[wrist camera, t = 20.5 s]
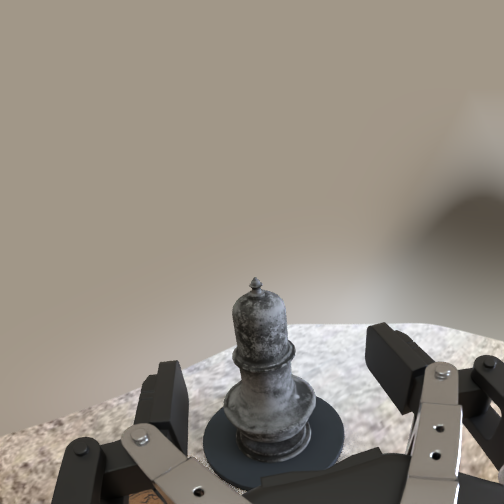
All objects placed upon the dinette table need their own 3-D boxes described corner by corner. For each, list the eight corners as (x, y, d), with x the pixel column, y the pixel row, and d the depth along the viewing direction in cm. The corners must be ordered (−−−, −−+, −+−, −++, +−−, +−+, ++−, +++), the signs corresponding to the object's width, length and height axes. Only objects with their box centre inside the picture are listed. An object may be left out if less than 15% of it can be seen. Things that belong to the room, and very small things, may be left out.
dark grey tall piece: (215, 434, 20) (177, 282, 17) (274, 396, 24) (259, 252, 20) (271, 480, 16) (248, 316, 12) (332, 429, 19) (336, 270, 16)
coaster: (176, 449, 20) (174, 445, 19) (259, 380, 27) (258, 375, 27) (294, 517, 13) (294, 513, 13) (365, 415, 21) (366, 409, 21)
